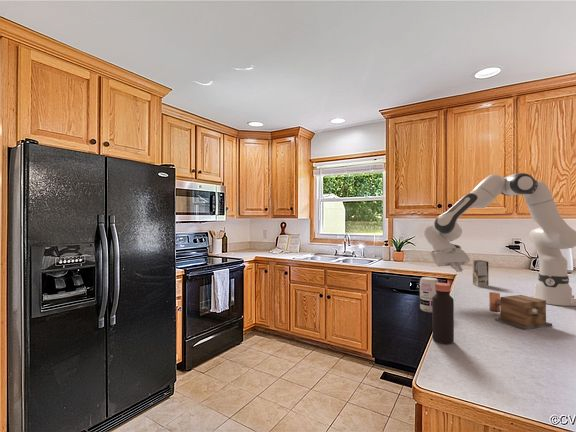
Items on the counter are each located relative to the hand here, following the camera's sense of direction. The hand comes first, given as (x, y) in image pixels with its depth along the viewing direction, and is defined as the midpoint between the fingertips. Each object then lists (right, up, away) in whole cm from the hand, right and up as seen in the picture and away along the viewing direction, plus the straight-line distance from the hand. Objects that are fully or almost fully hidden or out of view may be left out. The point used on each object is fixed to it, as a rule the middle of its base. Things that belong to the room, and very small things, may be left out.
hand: (460, 271), depth 160 cm
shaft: (+8, -15, -25) cm, 31 cm away
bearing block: (+10, -16, -30) cm, 35 cm away
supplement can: (-21, -17, -12) cm, 29 cm away
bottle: (-33, -16, -49) cm, 61 cm away
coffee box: (+37, -17, +43) cm, 59 cm away
